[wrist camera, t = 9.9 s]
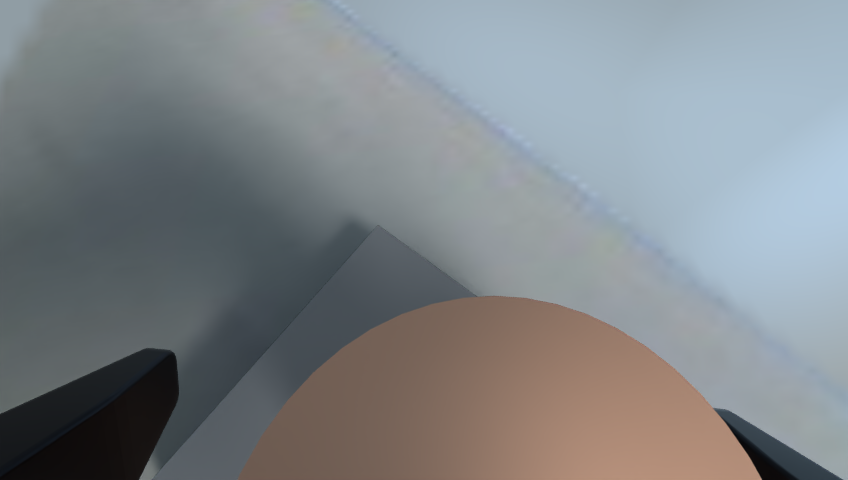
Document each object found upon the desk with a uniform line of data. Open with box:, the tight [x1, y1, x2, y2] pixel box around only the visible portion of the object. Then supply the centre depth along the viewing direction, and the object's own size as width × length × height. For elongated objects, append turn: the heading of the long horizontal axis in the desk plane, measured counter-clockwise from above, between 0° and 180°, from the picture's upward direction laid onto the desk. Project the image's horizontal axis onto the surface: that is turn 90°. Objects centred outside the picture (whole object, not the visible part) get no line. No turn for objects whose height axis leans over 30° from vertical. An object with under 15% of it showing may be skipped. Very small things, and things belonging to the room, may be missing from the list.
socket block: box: [152, 225, 477, 480], centre depth 14 cm, size 11×11×3 cm
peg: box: [237, 296, 762, 480], centre depth 9 cm, size 4×4×14 cm
